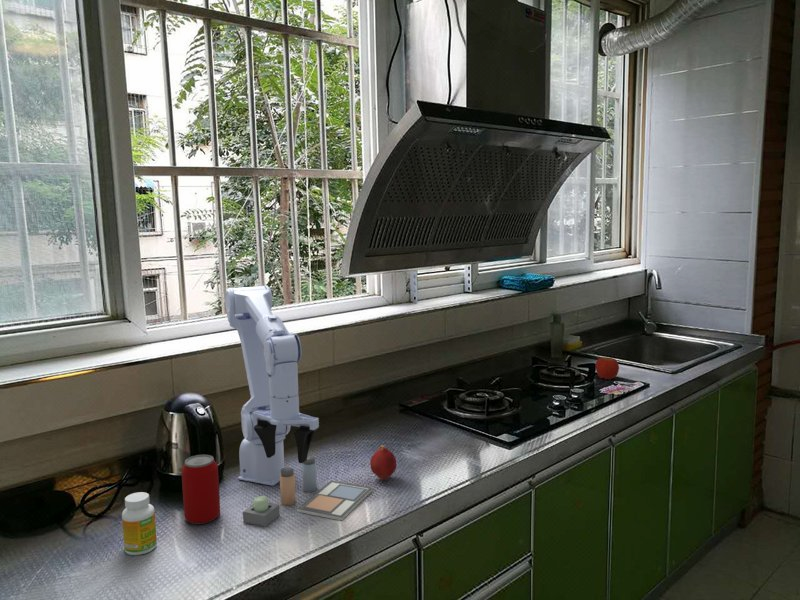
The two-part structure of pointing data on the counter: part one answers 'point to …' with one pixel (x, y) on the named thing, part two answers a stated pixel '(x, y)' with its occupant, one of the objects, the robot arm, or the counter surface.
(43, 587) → the counter surface
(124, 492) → the counter surface
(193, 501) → the beverage can
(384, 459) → the onion
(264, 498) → the button
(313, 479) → the cylinder
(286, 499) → the terracotta marker
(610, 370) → the apple
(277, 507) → the button housing
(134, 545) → the supplement bottle
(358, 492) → the picture card
